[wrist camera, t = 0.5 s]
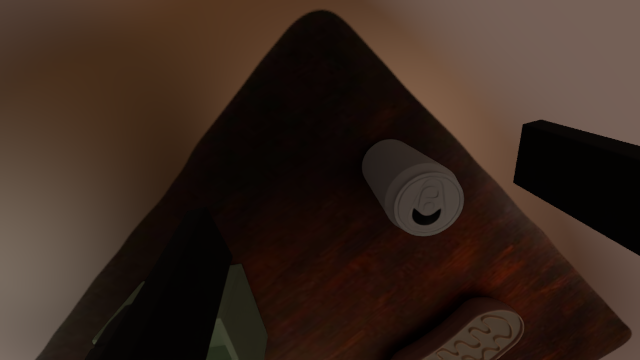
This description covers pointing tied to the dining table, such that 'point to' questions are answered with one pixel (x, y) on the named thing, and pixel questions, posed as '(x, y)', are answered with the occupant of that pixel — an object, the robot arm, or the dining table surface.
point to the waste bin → (230, 321)
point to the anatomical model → (469, 334)
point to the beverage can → (412, 188)
